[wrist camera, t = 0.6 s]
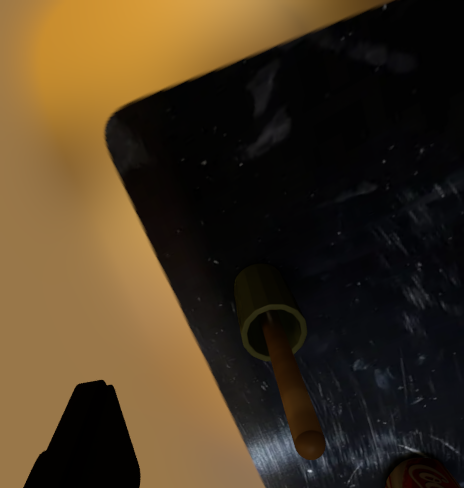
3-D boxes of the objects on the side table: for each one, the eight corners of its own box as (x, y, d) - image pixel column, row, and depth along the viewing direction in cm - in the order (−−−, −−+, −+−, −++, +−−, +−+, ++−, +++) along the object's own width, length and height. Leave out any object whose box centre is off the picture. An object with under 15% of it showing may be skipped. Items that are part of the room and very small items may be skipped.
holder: (224, 276, 31) (230, 320, 25) (274, 254, 31) (294, 293, 25) (245, 318, 33) (256, 370, 26) (293, 297, 33) (316, 345, 26)
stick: (249, 286, 31) (293, 450, 16) (264, 279, 31) (323, 438, 16) (255, 300, 32) (304, 471, 17) (271, 293, 32) (333, 460, 17)
